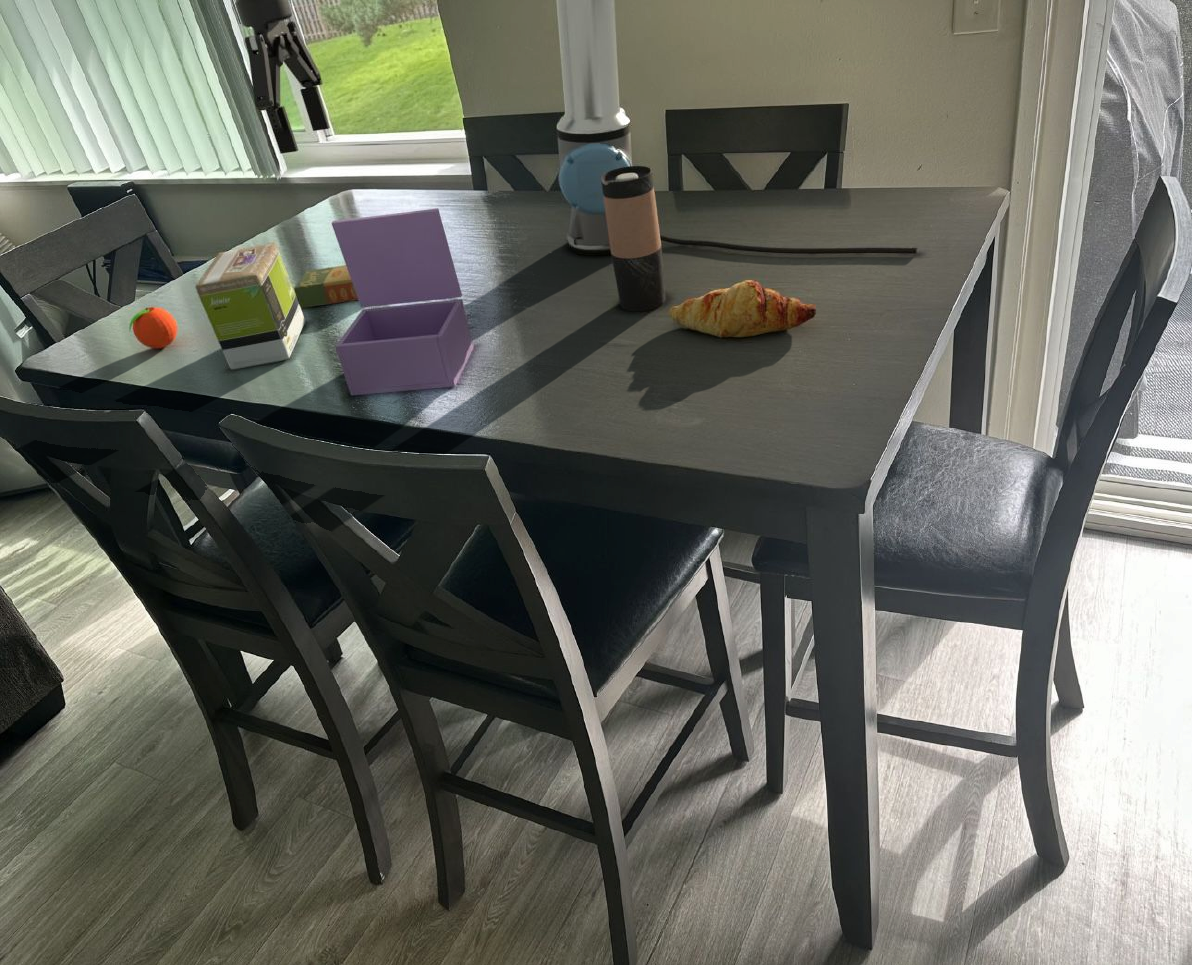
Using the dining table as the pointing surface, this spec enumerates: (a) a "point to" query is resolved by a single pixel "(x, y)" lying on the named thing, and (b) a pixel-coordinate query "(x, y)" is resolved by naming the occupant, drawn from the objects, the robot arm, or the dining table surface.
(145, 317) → the clementine
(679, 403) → the dining table surface
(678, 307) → the croissant
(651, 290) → the travel mug
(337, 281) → the carton
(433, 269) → the lid
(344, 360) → the file box
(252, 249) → the tea box
